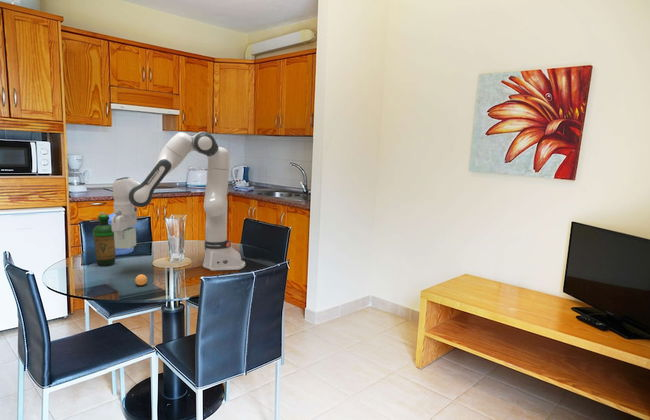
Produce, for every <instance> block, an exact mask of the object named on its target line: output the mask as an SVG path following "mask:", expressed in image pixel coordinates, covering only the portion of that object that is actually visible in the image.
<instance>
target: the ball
mask: <svg viewBox="0 0 650 420" xmlns="http://www.w3.org/2000/svg"><path fill="white" fill-rule="evenodd" d="M134 282H135V284H136V285H138V286H144V285H145V284H147V282H148V277H147V276H146V275H145V274H141V273H140V274H138V275H137V276H136V277H135V279H134Z"/></svg>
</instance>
